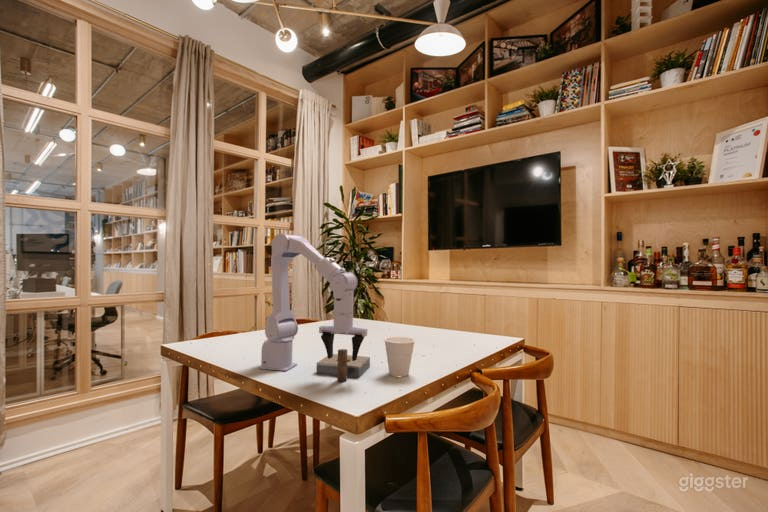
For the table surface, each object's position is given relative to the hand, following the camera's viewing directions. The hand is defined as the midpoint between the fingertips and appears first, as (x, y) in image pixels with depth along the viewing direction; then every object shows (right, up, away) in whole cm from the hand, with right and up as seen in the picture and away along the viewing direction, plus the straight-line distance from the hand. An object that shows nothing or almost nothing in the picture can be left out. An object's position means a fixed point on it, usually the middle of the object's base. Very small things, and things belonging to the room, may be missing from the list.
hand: (342, 358), depth 111 cm
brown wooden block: (0, -6, 0) cm, 6 cm away
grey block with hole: (-1, -7, +10) cm, 12 cm away
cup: (+17, -7, +7) cm, 20 cm away
